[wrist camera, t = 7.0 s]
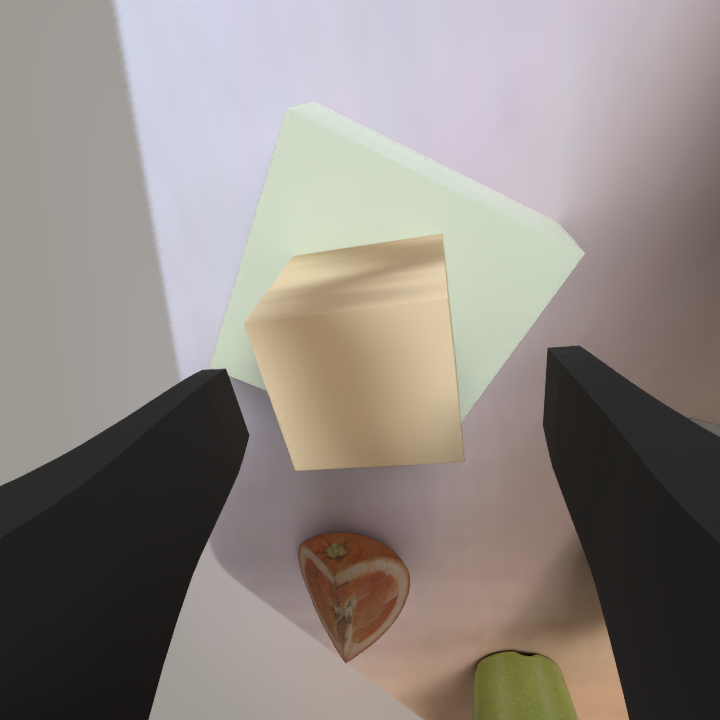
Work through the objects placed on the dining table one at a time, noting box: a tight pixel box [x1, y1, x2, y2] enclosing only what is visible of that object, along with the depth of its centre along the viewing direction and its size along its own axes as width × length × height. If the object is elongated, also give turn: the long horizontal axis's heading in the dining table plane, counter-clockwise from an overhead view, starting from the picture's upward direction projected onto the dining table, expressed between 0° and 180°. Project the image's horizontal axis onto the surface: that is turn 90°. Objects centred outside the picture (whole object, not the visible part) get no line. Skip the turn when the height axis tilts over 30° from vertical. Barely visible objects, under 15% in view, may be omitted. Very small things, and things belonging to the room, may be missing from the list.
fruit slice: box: [299, 532, 410, 663], centre depth 27 cm, size 8×7×5 cm
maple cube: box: [244, 233, 465, 471], centre depth 14 cm, size 5×5×5 cm
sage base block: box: [210, 101, 585, 422], centre depth 18 cm, size 10×10×4 cm
